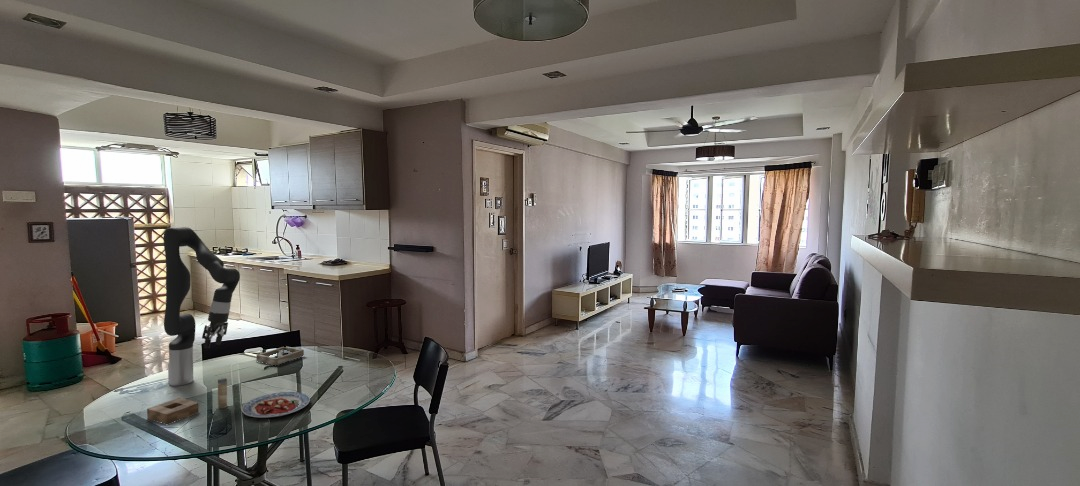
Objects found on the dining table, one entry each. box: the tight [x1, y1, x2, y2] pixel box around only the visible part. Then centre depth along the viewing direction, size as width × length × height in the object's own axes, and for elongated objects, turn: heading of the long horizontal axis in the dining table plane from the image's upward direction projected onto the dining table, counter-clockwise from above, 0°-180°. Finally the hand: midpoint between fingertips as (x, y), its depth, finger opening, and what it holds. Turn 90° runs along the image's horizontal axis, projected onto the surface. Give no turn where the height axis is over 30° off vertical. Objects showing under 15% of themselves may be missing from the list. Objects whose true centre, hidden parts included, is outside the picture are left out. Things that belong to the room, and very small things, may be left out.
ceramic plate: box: [241, 391, 311, 418], centre depth 201 cm, size 26×26×3 cm
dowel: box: [217, 377, 228, 409], centre depth 199 cm, size 3×3×12 cm
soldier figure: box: [278, 349, 284, 357], centre depth 261 cm, size 8×5×12 cm
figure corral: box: [256, 346, 305, 367], centre depth 261 cm, size 14×18×4 cm
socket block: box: [146, 397, 200, 425], centre depth 189 cm, size 12×12×4 cm
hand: (212, 346), depth 211 cm, fingers open, 8 cm apart
